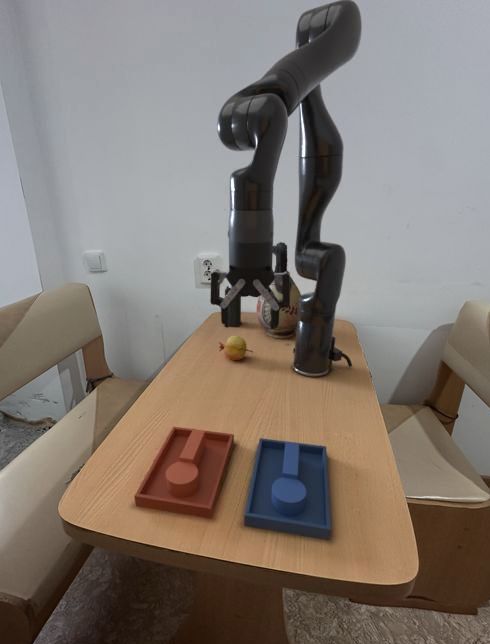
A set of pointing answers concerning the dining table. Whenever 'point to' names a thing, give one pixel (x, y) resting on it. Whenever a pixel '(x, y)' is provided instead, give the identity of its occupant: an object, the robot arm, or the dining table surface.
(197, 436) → the terracotta scoop
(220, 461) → the terracotta tray
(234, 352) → the fruit
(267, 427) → the dining table surface
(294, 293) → the ceramic jug
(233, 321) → the candle
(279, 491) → the blue scoop
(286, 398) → the dining table surface
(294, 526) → the blue tray
